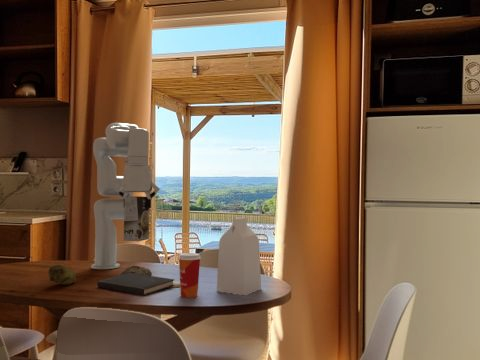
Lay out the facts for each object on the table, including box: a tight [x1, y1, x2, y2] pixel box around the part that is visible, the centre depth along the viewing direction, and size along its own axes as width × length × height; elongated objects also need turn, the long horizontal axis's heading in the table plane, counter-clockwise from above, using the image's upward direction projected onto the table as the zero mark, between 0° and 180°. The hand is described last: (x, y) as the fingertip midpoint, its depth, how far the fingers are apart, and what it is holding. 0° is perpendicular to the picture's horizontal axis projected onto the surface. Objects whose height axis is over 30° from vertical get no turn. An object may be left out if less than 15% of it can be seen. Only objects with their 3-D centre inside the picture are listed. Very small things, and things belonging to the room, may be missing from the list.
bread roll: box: [119, 265, 153, 276], centre depth 174 cm, size 13×12×5 cm
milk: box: [216, 217, 262, 296], centre depth 153 cm, size 12×12×26 cm
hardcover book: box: [96, 273, 175, 296], centre depth 155 cm, size 16×23×2 cm
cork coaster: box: [170, 281, 180, 289], centre depth 159 cm, size 8×8×1 cm
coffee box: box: [122, 195, 151, 242], centre depth 156 cm, size 9×6×16 cm
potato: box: [47, 264, 77, 286], centre depth 158 cm, size 8×13×8 cm, turn 153°
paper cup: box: [177, 252, 202, 299], centre depth 143 cm, size 8×8×14 cm
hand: (137, 209), depth 156 cm, fingers closed on coffee box, 7 cm apart
